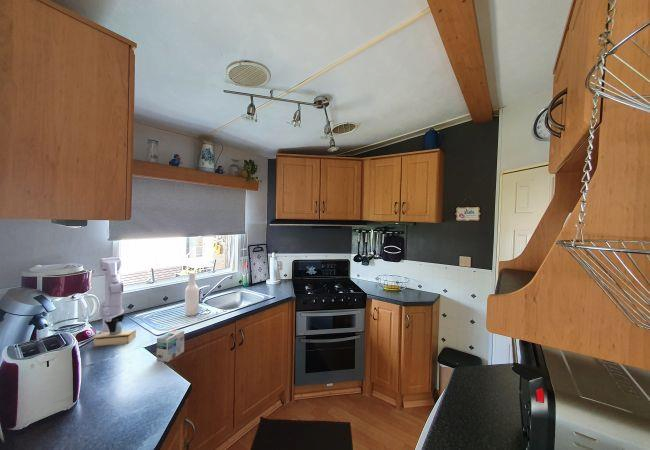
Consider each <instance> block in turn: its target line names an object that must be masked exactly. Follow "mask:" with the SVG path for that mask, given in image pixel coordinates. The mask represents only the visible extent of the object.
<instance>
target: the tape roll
mask: <svg viewBox="0 0 650 450" xmlns="http://www.w3.org/2000/svg"><path fill="white" fill-rule="evenodd" d="M122 322H123V321H122ZM122 322H117V325H116V331H115V332H110V331H109V334H110V335H113V334H118V333H120V332H121V331H123V330H122V329H123V328H122V327H123V326H122V324H123V323H122Z"/></svg>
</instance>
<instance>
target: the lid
mask: <svg viewBox="0 0 650 450" xmlns="http://www.w3.org/2000/svg"><path fill="white" fill-rule="evenodd" d="M135 331H136V332H137V330H136V329H130V330H129V329H128V330H122V331H121V332H120V333H118V334H113V335H110V334H109V332H103V333H98V334H97V335H94V336H93V339H95V338H101V337H113V336H126V335H130V334H131V333H133V332H135Z"/></svg>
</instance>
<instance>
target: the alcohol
mask: <svg viewBox="0 0 650 450" xmlns="http://www.w3.org/2000/svg"><path fill="white" fill-rule="evenodd" d="M187 283H188V285H187V286H186V288H185V291H184V315H185V316H187V317H192V316H193V317H194V316H197V315H198V314H199V313H200V290H199V289H200V288H199V286H198V285H197V282H196V272H195V271H190V272H188V282H187Z"/></svg>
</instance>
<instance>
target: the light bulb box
mask: <svg viewBox="0 0 650 450" xmlns="http://www.w3.org/2000/svg"><path fill="white" fill-rule="evenodd" d="M184 352H185V330H181V329H180V330H179V329H172V330H170V331H168V332H166V333H164V334H162V335H160V336H159V337H156V361H159V360H160V362H167V363H168V362H170V361H171V360H173V359H175V358H176V357H178V356H180V355H181V354H182V353H184Z"/></svg>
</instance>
